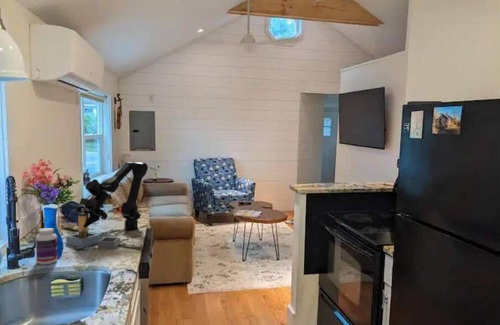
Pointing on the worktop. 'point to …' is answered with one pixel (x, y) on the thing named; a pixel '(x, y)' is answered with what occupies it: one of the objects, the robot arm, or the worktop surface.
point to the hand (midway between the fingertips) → (80, 226)
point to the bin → (82, 240)
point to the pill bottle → (46, 246)
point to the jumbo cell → (82, 225)
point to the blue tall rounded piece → (42, 217)
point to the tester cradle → (108, 242)
